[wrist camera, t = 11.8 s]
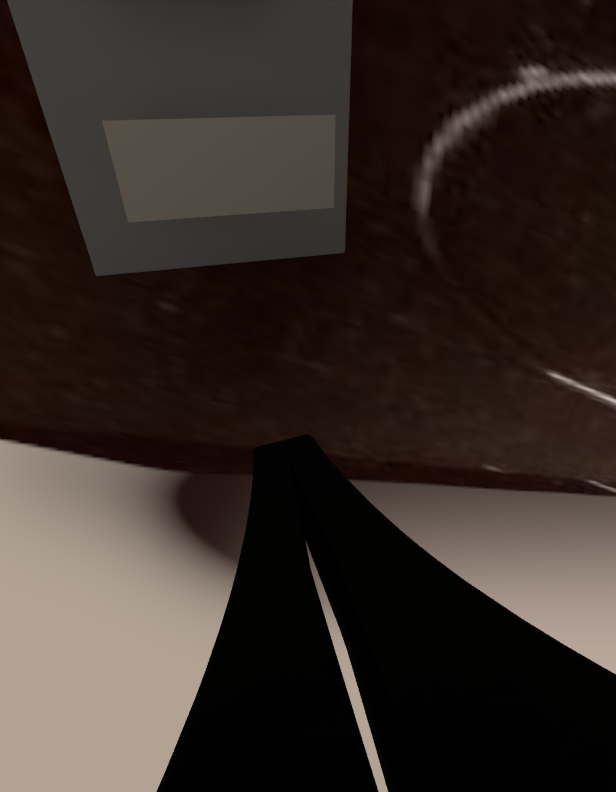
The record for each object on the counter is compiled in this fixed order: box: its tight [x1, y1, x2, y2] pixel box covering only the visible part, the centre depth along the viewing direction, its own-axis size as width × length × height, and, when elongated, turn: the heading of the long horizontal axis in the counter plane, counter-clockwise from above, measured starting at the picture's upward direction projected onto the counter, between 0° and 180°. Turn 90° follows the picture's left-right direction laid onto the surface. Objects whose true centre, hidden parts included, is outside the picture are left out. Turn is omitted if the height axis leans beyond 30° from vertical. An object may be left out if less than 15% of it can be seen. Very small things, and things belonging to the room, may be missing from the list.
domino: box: [102, 115, 335, 222], centre depth 11 cm, size 2×5×7 cm, turn 91°
